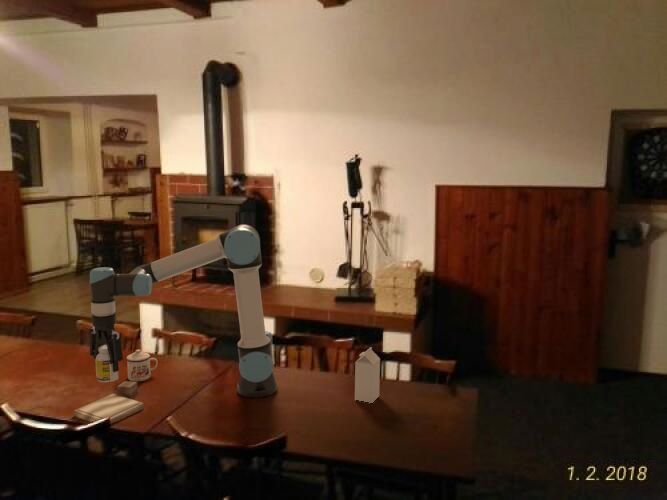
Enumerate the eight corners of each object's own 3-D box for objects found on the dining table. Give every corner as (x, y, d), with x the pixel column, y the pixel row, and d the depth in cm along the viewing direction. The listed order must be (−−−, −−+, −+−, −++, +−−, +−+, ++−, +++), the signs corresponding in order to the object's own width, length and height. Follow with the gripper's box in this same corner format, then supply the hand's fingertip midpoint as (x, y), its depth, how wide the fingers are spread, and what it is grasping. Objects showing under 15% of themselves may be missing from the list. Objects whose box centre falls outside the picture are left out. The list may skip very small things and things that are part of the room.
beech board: (144, 408, 191) (143, 402, 191) (105, 427, 177) (105, 420, 177) (113, 398, 199) (113, 393, 198) (74, 415, 185) (73, 409, 184)
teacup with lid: (129, 383, 212) (128, 355, 211) (125, 376, 220) (124, 348, 218) (160, 378, 218) (159, 350, 216) (155, 370, 226) (154, 344, 224)
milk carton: (379, 397, 202) (380, 348, 199) (372, 404, 196) (373, 354, 193) (361, 393, 205) (362, 345, 202) (354, 400, 199) (355, 351, 196)
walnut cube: (137, 394, 203) (137, 381, 202) (130, 400, 198) (129, 387, 197) (125, 393, 203) (124, 381, 203) (118, 399, 199) (117, 386, 198)
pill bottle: (97, 384, 182) (96, 351, 180) (96, 377, 187) (94, 345, 186) (118, 380, 185) (116, 348, 183) (116, 374, 190) (114, 342, 188)
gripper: (132, 314, 181) (135, 380, 184) (94, 307, 190) (98, 369, 194) (113, 320, 174) (117, 387, 178) (75, 311, 184) (79, 376, 187)
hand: (107, 378), depth 186 cm, fingers closed on pill bottle, 6 cm apart
